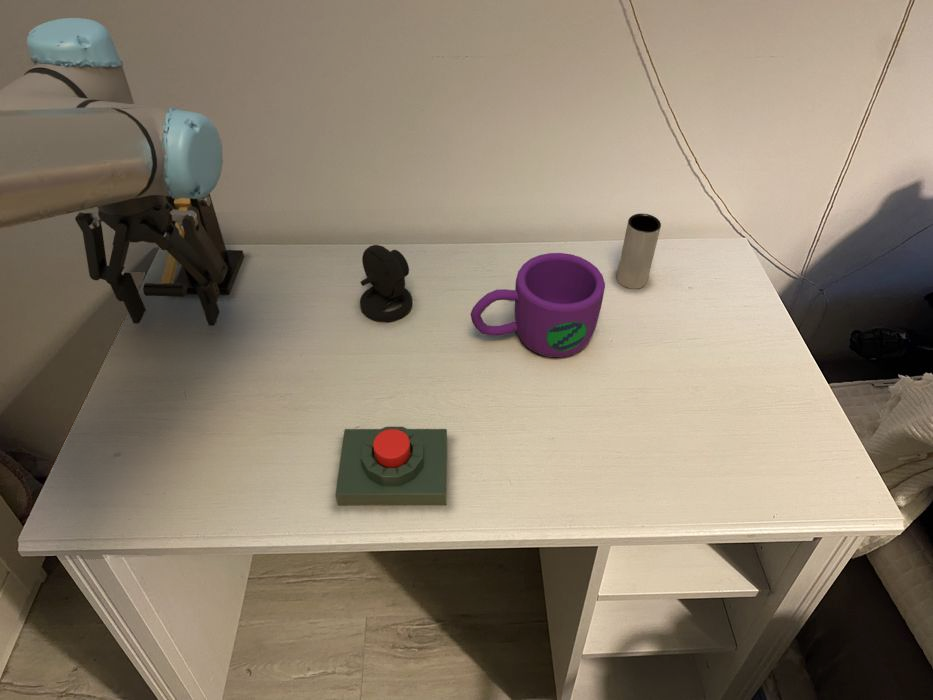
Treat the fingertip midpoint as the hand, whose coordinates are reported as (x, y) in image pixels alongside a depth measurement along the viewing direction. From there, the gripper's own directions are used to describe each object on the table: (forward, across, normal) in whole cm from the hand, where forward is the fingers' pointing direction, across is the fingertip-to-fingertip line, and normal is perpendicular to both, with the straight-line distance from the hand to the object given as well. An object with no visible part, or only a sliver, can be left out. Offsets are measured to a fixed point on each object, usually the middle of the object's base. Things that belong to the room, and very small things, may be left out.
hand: (177, 317), depth 95 cm
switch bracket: (+3, 0, -13) cm, 13 cm away
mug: (+3, -48, -2) cm, 48 cm away
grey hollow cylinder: (+3, -63, -14) cm, 65 cm away
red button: (0, -31, +21) cm, 38 cm away
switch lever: (-6, 0, -7) cm, 9 cm away
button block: (+3, -31, +21) cm, 38 cm away
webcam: (+3, -27, -7) cm, 28 cm away
